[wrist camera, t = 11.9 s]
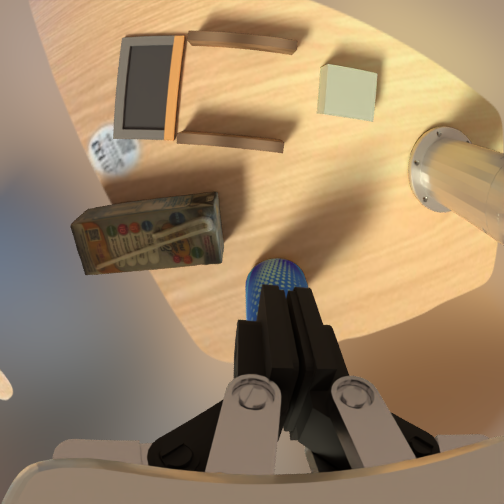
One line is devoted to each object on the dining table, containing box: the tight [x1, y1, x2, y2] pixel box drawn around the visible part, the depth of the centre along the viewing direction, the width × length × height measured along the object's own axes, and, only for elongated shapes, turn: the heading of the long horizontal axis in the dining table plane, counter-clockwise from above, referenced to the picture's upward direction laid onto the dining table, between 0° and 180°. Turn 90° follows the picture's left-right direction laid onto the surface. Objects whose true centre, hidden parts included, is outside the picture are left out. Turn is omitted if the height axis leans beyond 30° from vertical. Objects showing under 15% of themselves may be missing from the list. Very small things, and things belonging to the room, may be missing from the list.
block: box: [317, 64, 377, 122], centre depth 34 cm, size 6×6×4 cm
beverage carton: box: [71, 192, 224, 275], centre depth 40 cm, size 8×19×7 cm, turn 95°
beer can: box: [246, 258, 308, 321], centre depth 39 cm, size 8×8×16 cm
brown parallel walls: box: [177, 31, 297, 153], centre depth 34 cm, size 12×13×4 cm
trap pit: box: [113, 36, 185, 140], centre depth 34 cm, size 8×13×1 cm, turn 173°
